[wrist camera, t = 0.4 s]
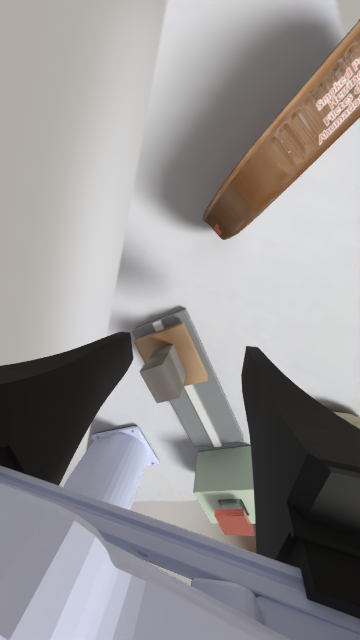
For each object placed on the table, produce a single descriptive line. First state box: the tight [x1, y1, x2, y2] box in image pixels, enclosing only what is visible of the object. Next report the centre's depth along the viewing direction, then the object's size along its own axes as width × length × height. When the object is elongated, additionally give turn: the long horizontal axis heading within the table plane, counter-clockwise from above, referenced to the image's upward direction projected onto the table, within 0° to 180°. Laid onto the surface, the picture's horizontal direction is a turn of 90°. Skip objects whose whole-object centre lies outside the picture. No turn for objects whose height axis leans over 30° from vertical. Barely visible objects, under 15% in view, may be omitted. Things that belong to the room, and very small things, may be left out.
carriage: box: [134, 322, 208, 403], centre depth 19 cm, size 6×7×5 cm
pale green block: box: [193, 446, 255, 524], centre depth 24 cm, size 8×6×5 cm
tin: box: [203, 20, 360, 240], centre depth 11 cm, size 15×3×8 cm, turn 135°
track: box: [132, 308, 244, 447], centre depth 23 cm, size 7×19×1 cm, turn 25°
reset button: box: [214, 499, 254, 536], centre depth 21 cm, size 3×3×2 cm
